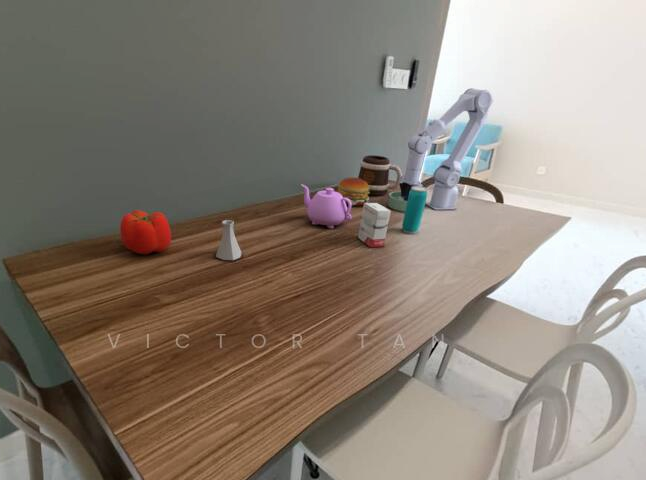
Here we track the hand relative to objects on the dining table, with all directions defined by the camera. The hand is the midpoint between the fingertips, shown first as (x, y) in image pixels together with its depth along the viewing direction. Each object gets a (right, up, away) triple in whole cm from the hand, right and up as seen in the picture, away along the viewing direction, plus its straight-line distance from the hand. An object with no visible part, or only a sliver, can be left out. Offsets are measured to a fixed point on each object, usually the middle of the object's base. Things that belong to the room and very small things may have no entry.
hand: (406, 202), depth 160 cm
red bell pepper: (-88, -26, -48) cm, 103 cm away
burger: (-22, 0, +2) cm, 22 cm away
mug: (-8, +9, +18) cm, 21 cm away
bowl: (0, -2, +1) cm, 2 cm away
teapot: (-36, -12, -20) cm, 42 cm away
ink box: (-22, -21, -34) cm, 45 cm away
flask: (-65, -27, -49) cm, 86 cm away
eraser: (0, -1, +1) cm, 1 cm away
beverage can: (-6, -16, -23) cm, 29 cm away
